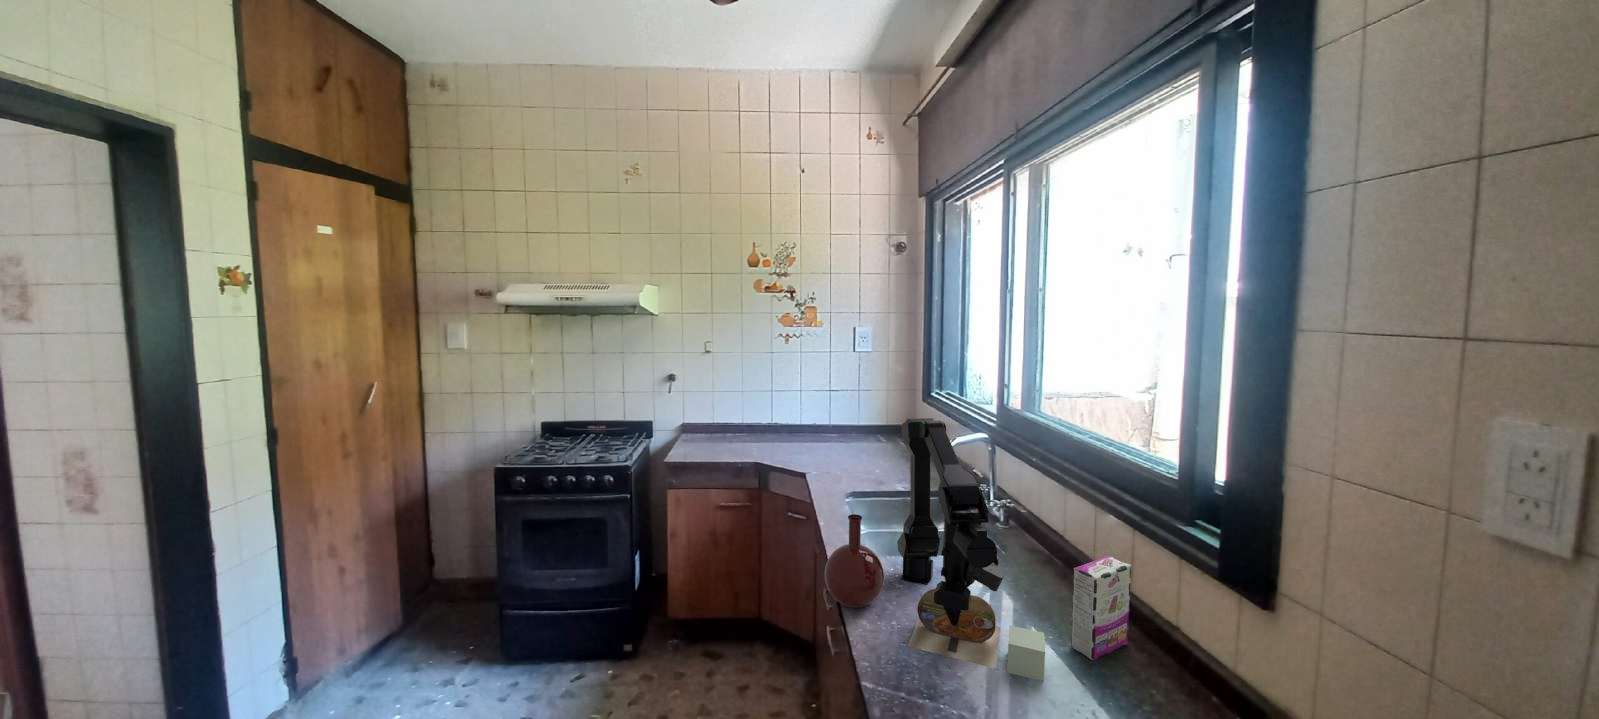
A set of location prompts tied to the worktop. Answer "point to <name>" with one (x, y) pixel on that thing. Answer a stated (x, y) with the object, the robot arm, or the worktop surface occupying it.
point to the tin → (971, 622)
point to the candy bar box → (1100, 607)
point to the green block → (1026, 653)
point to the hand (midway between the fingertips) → (956, 618)
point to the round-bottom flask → (854, 570)
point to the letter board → (956, 646)
